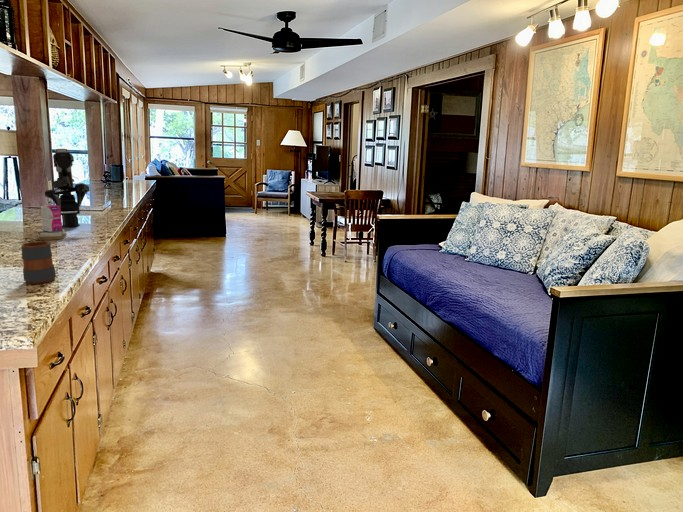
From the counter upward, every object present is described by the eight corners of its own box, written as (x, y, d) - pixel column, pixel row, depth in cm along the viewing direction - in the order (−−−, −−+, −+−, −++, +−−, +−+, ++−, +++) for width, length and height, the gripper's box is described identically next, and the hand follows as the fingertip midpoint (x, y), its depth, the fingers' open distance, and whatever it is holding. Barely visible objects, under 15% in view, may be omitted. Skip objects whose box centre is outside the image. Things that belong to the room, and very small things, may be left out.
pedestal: (44, 236, 235) (43, 230, 234) (66, 235, 237) (66, 229, 237) (39, 240, 226) (38, 233, 226) (62, 239, 229) (61, 232, 228)
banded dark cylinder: (58, 273, 170) (53, 238, 168) (55, 282, 160) (50, 245, 157) (27, 276, 167) (22, 240, 164) (22, 286, 156) (17, 247, 154)
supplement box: (50, 233, 227) (47, 206, 225) (42, 231, 230) (39, 205, 228) (63, 231, 232) (60, 205, 230) (55, 229, 235) (52, 204, 233)
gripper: (35, 175, 238) (39, 208, 236) (75, 167, 238) (79, 200, 235) (49, 182, 249) (53, 214, 247) (88, 174, 249) (92, 206, 246)
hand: (69, 208), depth 243 cm, fingers open, 9 cm apart
